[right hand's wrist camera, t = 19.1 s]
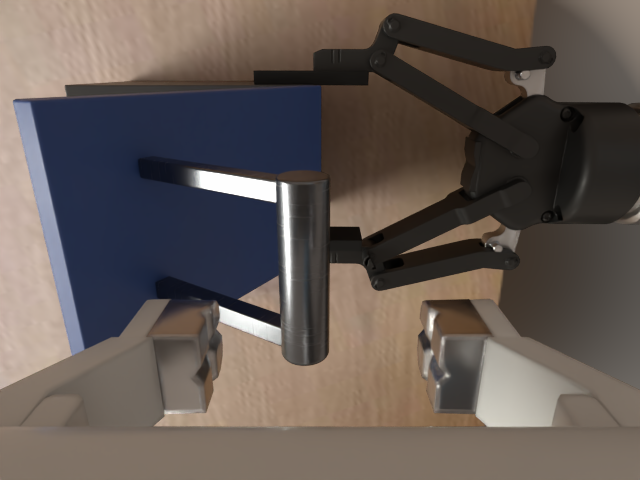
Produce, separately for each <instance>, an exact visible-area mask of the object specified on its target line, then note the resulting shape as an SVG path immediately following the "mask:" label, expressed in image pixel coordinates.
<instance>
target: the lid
mask: <svg viewBox="0 0 640 480" xmlns="http://www.w3.org/2000/svg"><path fill="white" fill-rule="evenodd" d="M13 105H14V109H15V113H16V118H17V122H18V126H19V131H20V135H21V139H22V143H23V148H24V152H25V156H26V160H27V165H28V169H29V173H30V178H31V182H32V186H33V190H34V195H35V199H36V203H37V208H38V212H39V216H40V220H41V225H42V229H43V233H44V238H45V242H46V246H47V250H48V255H49V259H50V263H51V268H52V272H53V276H54V280H55V285H56V289H57V293H58V298H59V302H60V306H61V310H62V315H63V319H64V323H65V327H66V332H67V336H68V340H69V345H70V349H71V353H72V356H73V355H75V354H77V353H79V352H81V351H83V350H85V349H87V348H90V347H92V346H94V345H96V344H98V343H100V342H102V341H104V340H107V339H109V338H111V337H119V336H120V335H121V333H122V332H123V331H124V330H125V328H126V327H127V326H128V324H129V323H130V322H131V320H132V319H133V318H134V316H135V315H136V314H137V312H138V311H139V310H140V308H141V307H142V306H143V305H144V303H145V302H146V301H147V300H152V299H171V300H173V299H174V300H217V303H218V305H219V312H220V320H219V322H220V323H223V324H226V325H228V326H231V327H233V328H236V329H238V330H241V331H244V332H246V333H249V334H251V335H254V336H256V337H259V338H262V339H264V340H267V341H269V342H272V343H274V344H277V345H279V346H281V349H282V355H283V357H284V358H285V359H286V360H287V361H288V362H290V363H292V364H295V365H300V366H309V365H314V364H317V363H320V362H321V361H323V360H324V359H325V358H326V357H327V355H328V353H329V284H330V177H329V175H328V174H326V173H323V172H321V86H319V85H300V86H279V87H258V88H237V89H217V90H196V91H175V92H154V93H133V94H113V95H92V96H71V97H50V98H29V99H15V100H13ZM278 275H279V295H280V314H278V313H275V312H272V311H269V310H266V309H263V308H261V307H258V306H255V305H252V304H249V303H246V302H243V301H240V300H237V299H239V298H240V297H242V296H244V295H246V294H247V293H249V292H251V291H252V290H254V289H256V288H257V287H259V286H261V285H263V284H264V283H266V282H268V281H269V280H271V279H273V278H275V277H276V276H278Z"/></svg>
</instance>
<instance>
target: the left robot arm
mask: <svg viewBox="0 0 640 480" xmlns="http://www.w3.org/2000/svg"><path fill="white" fill-rule="evenodd" d="M397 44H402V45H405V46H409V47H412V48H415V49H419V50H422V51H426V52H429V53H432V54H436V55H439V56H443V57H446V58H449V59H453V60H456V61H460V62H463V63H466V64H470V65H473V66H477V67H480V68H483V69H487V70H492V71H505V72H504V77H505V80H506V82H507V83H509V84H511V85H516V86H517V87H518V88H519V89H520V91H521V96H519V97H518V98H516V99H515V100H513V101H512V102H511V103H509V104H508V105H506V106H505V107H503V108H502V109H500V110H499V111H497V112H496V113H494V114H491V113H490V112H488V111H486V110H485V109H483V108H481V107H479V106H477V105H475V104H473V103H472V102H470V101H468V100H467V99H465V98H463V97H462V96H460V95H459V94H457V93H455V92H454V91H452V90H450V89H449V88H447V87H445V86H444V85H442V84H440V83H439V82H437V81H436V80H434V79H432V78H431V77H429V76H427V75H426V74H424V73H422V72H421V71H419V70H417V69H416V68H414V67H412V66H411V65H409V64H408V63H406V62H404V61H403V60H401V59H399V58H398V57H396V56H394V52H395V50H396V47H397ZM555 59H556V52H555V50H554V49H553V48H552V47H550V46H541V47H530V48H520V49H514V48H511V47H507V46H504V45H501V44H497V43H494V42H491V41H487V40H484V39H481V38H477V37H474V36H471V35H467V34H464V33H461V32H457V31H454V30H451V29H447V28H444V27H441V26H437V25H434V24H431V23H427V22H424V21H421V20H417V19H414V18H411V17H407V16H404V15H401V14H395V13H393V14H391V15H389V16H388V17H386V18H385V19H384V20H383V21H382V22H381V24H380V26H379V30H378V32H377V35H376V38H375V40H374V42H373V44H372V45H371V47H369V48H368V49H322V50H319V51H317V52H315V53H313V63H314V71H254V85H368V74H369V72H374V73H376V74H378V75H379V76H381V77H383V78H384V79H386V80H388V81H389V82H391V83H393V84H394V85H396V86H398V87H400V88H401V89H403V90H405V91H406V92H408V93H410V94H411V95H413V96H415V97H416V98H418V99H420V100H421V101H423V102H425V103H426V104H428V105H430V106H431V107H433V108H435V109H436V110H438V111H440V112H441V113H443V114H445V115H447V116H448V117H450V118H452V119H453V120H455V121H456V122H458V123H459V124H461V125H463V126H464V127H466V128H468V129H469V130H471V133H470V135H469V137H466V140H465V156H466V163H465V166H464V168H463V171H462V174H461V183H460V184H461V185H462V186H463V187H462V188H460V189H458V190H456V191H454V192H452V193H450V194H449V195H448V196H447V197H446V198H445V199H443V200H441V201H439V202H437V203H435V204H433V205H431V206H429V207H427V208H425V209H423V210H421V211H419V212H417V213H415V214H413V215H411V216H408V217H406V218H404V219H402V220H400V221H398V222H396V223H394V224H392V225H390V226H388V227H386V228H384V229H382V230H380V231H378V232H376V233H374V234H372V235H370V236H368V237H366V238H364V239H362V238H361V233H360V228H359V227H330V263H356V264H361V265H363V266H364V267H365V268H366V270H367V273H368V276H369V278H370V281H371V285H372V287H373V288H374V289H375V290H378V291H382V290H387V289H391V288H396V287H400V286H405V285H409V284H413V283H418V282H422V281H427V280H431V279H436V278H440V277H445V276H449V275H454V274H458V273H463V272H467V271H472V270H476V269H481V268H491V269H502V270H513V269H515V268H516V267H517V266H518V265H519V263H520V259H519V256H518V255H517V254H516V253H515V249H516V245H517V241H518V238H519V234H520V230H523V229H526V228H528V227H530V226H532V225H535V224H539V223H551V224H608V223H612V222H614V223H617V224H623V225H627V224H640V103H631V104H629V105H626V104H624V103H593V102H591V103H590V102H555V101H553V100H551V99H550V98H549V97H547V96H545V95H544V89H545V78H546V68H549V67H550V66H552V65H553V63H554V62H555ZM489 215H491V216H492V217H493V218H495V219H496V220H497V221H498V222H500V223H501V225H500V227H499V228H498V229H497V230H496V231H494V232H488V233H484V234H483V236H482V239H467V240H462V241H458V242H453V243H449V244H445V245H440V246H436V247H432V248H427V249H423V250H419V251H414V252H410V253H406V254H401V253H403V252H405V251H407V250H410V249H412V248H414V247H416V246H418V245H420V244H422V243H424V242H426V241H428V240H431V239H433V238H435V237H437V236H439V235H441V234H443V233H445V232H447V231H449V230H452V229H454V228H456V227H458V226H460V225H463V224H471V223H474V222H476V221H478V220H480V219H482V218H485V217H487V216H489ZM399 254H401V255H399Z"/></svg>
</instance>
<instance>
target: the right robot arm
mask: <svg viewBox="0 0 640 480" xmlns="http://www.w3.org/2000/svg"><path fill="white" fill-rule="evenodd" d="M219 320H220V312H219V305H218V303H217V300H174V299H173V300H171V299H152V300H147V301H146V302H145V303H144V305H143V306H142V307H141V308H140V310H139V311H138V312H137V314H136V315H135V316H134V318H133V319H132V320H131V322H130V323H129V324H128V326H127V327H126V328H125V330H124V331H123V332H122V333H121V335H120V336H119V337H111V338H109V339H107V340H104V341H102V342H100V343H98V344H96V345H94V346H92V347H90V348H87V349H85V350H83V351H81V352H79V353H77V354H75V355H73V356H71V357H68V358H66V359H64V360H62V361H60V362H58V363H56V364H54V365H51V366H49V367H47V368H45V369H43V370H41V371H39V372H37V373H34V374H32V375H30V376H28V377H26V378H24V379H22V380H20V381H18V382H15V383H13V384H11V385H9V386H7V387H5V388H3V389H1V390H0V480H640V390H639V389H637V388H635V387H633V386H631V385H628V384H626V383H624V382H622V381H620V380H618V379H616V378H614V377H612V376H609V375H607V374H605V373H603V372H601V371H599V370H597V369H595V368H593V367H590V366H588V365H586V364H584V363H582V362H580V361H578V360H576V359H574V358H571V357H569V356H567V355H565V354H563V353H561V352H559V351H557V350H555V349H552V348H550V347H548V346H546V345H544V344H542V343H540V342H538V341H536V340H533V339H531V338H529V337H521V336H520V335H519V334H518V332H517V331H516V330H515V328H514V327H513V326H512V324H511V323H510V322H509V320H508V319H507V318H506V317H505V315H504V314H503V313H502V311H501V310H500V309H499V307H498V306H497V305H496V303H495V302H494V301H493V300H491V299H475V300H469V299H461V300H425V301H422V305H421V311H420V320H421V323H422V325H423V328H424V330H423V331H422V332H421V333H420V334H419V335H418V347H417V351H418V364H419V369H420V372H421V376H422V377H423V378H424V379H425V380H427V394H428V397H429V400H430V403H431V405H432V408H433V411H434V413H455V414H476V415H475V416H476V417H477V418H478V419H480V420H481V421H482V422H483V423H484V424H485V425H486V426H487V427H153V426H154V425H155V424H156V423H157V422H158V421H160V420H161V419H162V418H163V417H164V414H184V413H206V411H207V409H208V406H209V403H210V400H211V397H212V394H213V380H215V379H216V378H217V377H218V376H219V372H220V369H221V363H222V353H223V344H222V335H221V334H220V333H219V332H218V331H217V330H216V328H217V325H218V323H219Z"/></svg>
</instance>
